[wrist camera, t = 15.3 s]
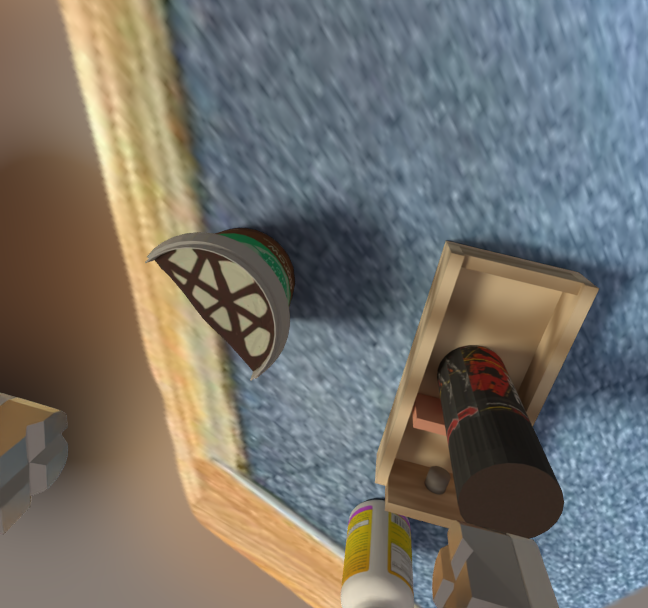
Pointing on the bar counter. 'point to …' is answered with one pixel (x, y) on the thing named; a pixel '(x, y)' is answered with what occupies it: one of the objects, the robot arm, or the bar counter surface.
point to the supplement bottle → (377, 559)
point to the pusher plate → (428, 414)
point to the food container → (235, 288)
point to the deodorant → (494, 447)
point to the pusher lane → (484, 330)
